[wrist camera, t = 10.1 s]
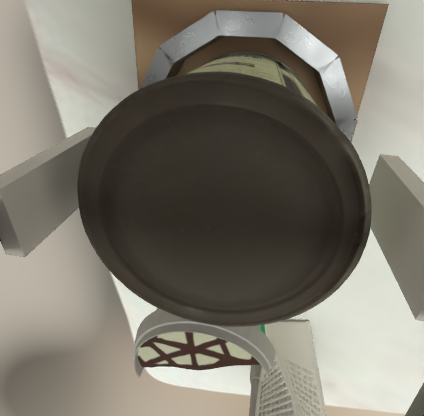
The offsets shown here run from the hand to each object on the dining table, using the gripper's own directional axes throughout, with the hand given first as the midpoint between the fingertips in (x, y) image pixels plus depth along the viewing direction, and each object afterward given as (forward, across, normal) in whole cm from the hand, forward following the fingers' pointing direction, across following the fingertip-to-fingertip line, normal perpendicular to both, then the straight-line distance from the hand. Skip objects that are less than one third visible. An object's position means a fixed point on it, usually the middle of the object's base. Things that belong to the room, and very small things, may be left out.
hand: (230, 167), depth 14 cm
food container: (+10, -2, -16) cm, 19 cm away
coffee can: (+9, 0, -1) cm, 9 cm away
